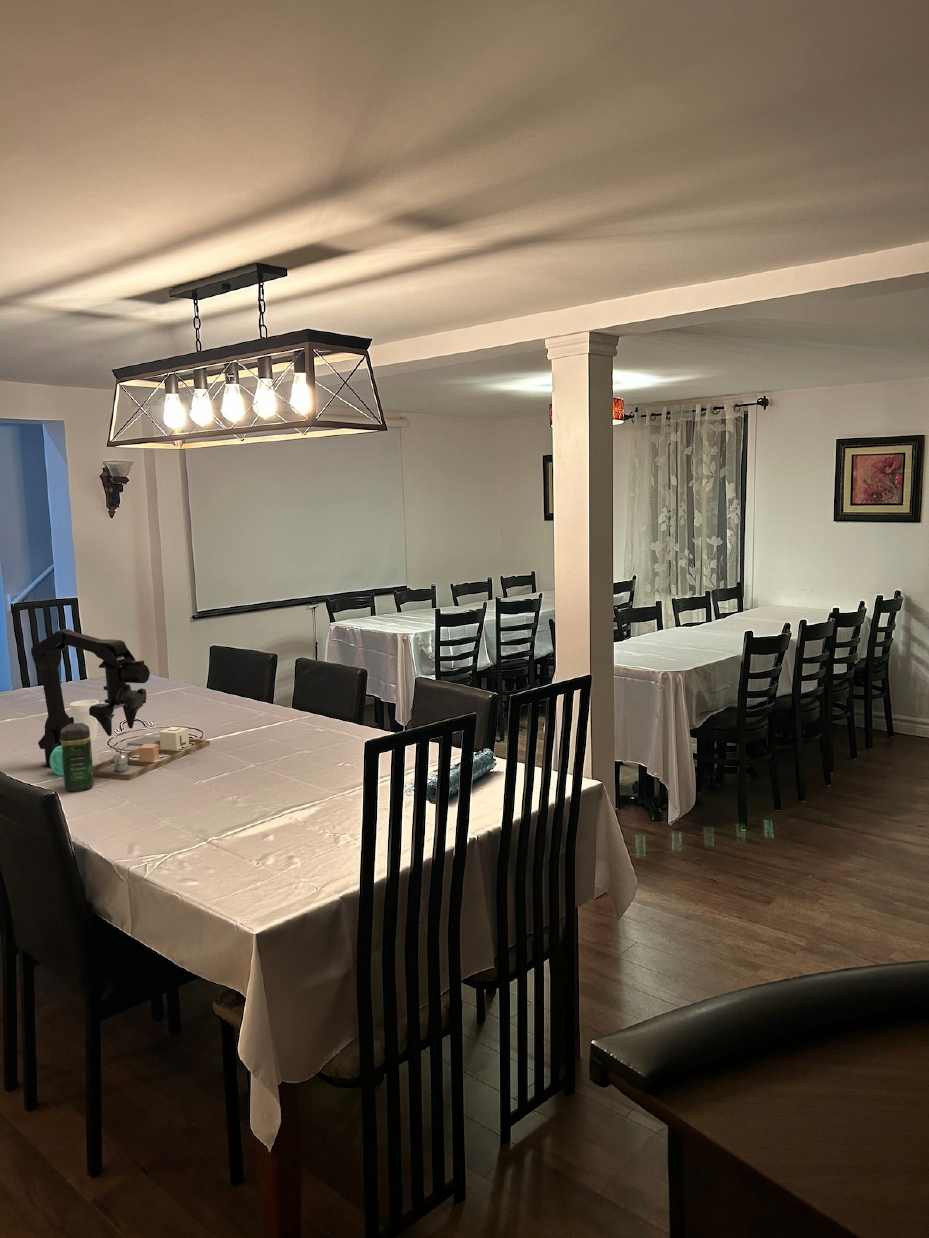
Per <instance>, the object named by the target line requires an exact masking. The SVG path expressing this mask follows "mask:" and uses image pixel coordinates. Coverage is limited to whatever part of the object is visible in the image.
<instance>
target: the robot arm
mask: <svg viewBox="0 0 929 1238" xmlns="http://www.w3.org/2000/svg"><path fill="white" fill-rule="evenodd" d="M68 646H69V647H73V648H77V649H80V650H83V651H87V652H90V653H92V654H94V655H95V656H96V657H97V658H98V659H100V660H102V662H101V663H100V664H99V665H98V669H99V668H100V669H104V671H105V672H104V673H105V684H106V685H104V686H103V690H104V691H106V696H107V698H106V699H104V703H99V704H96V705H93V706H91V707H90V708H89V715H91V716H93V717H95V718H96V719H97V720H98V724H100V725H101V727H102V729H103V730H104V733H106V735H107V736H108V737H111V736H112V735H113V729H112V728H113V727H112V726H113V725H112V724H113V721H112V719H113V718H114V717H115V714H114V710H116V709H119V708H122V709H123V712H124V716H125V720H126V724H127V727H128V729H133V727H134V724H135V721H136V720H135V719H136V715H137V713H138V711H139V710H140V709H141V708H142V707H143V706H144V704H146V703H147V701H146V700H147V691H146V689H145V688H143V687H142V688H138V689H137V690H132V688H131V685H130V684H146V683H147V682H148V681H149V679H150V672H151V671H150V670H149V669H150V668H149V667H148V665H146V664H145V660H136V658H135V657H134V655H133V654H132V653H131V651H130V650H129V649H128V647H127V645H126V642H125V641H124V640H122V639H113V638H112V639H101V638H97V637H94V636H90V635H87V634H84V633H80V632H77V631H72V629H69V628H65V629H60V630H57V631H56V632H54V633H53V634H51V635H50V636H48V637H47V638H45V639H43V640H41V641H40V642H39V641H38V642H37V643H36V642H35V643H34V644H33V645H32V646H31V649H30V652H31V653H30V654H31V656H32V660H33V663H34V665H35V666H36V667H37V668H38V669H39V671H40V674H41V680H42V687H43V692H44V699H45V704H46V711H47V717H46V721H45V724H44V734H43V736H41V739H39V741H38V742H37V744H38V747H39V749H40V750H44V757H45V763H43V764H42V765H41V766H42V767H44V768H51V766H50V756H51V753H52V751H53V750H54V749H55V748H56V747H58V746H61V735H60V733H61V730H62V729H63V728H64V727H66V726H67V725H68V724H74V718H73V717H72V716H71V717H70V716H69V715H68V714H67V713H66V709H65V703H64V696H63V691H62V684H61V678H60V671H59V666H60V663H61V661H62V651H63V650H64V649H65V648H67V647H68Z"/></svg>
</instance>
